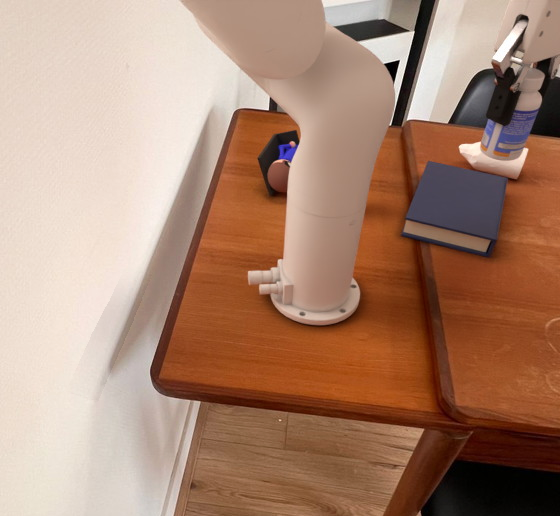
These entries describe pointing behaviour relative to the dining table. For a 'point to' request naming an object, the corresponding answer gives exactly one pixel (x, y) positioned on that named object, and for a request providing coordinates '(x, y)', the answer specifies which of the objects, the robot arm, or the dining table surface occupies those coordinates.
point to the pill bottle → (515, 121)
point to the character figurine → (278, 160)
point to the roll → (492, 161)
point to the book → (457, 209)
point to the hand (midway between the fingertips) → (512, 114)
